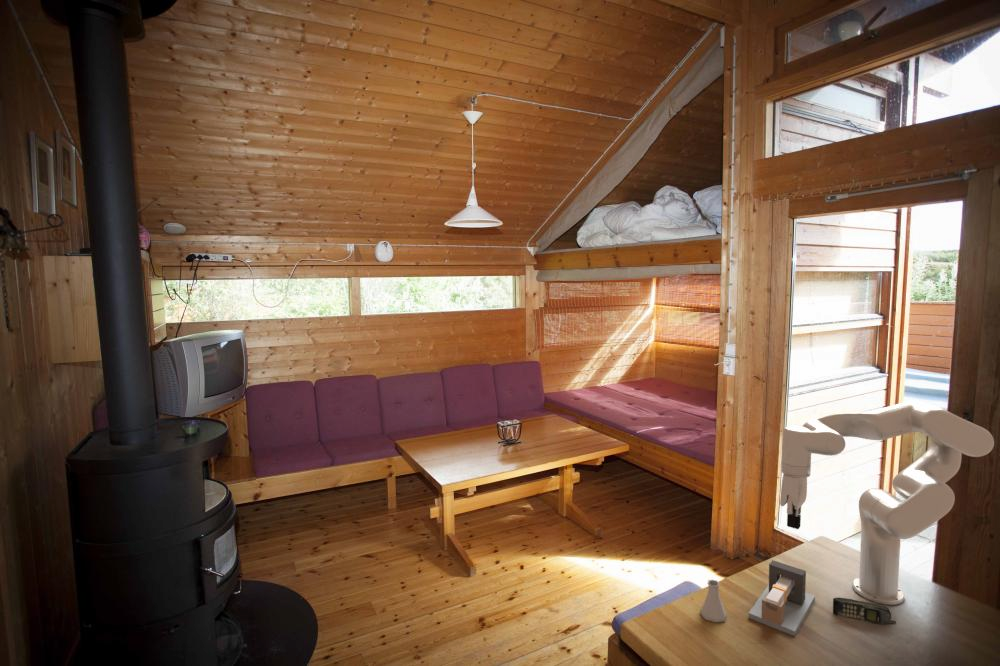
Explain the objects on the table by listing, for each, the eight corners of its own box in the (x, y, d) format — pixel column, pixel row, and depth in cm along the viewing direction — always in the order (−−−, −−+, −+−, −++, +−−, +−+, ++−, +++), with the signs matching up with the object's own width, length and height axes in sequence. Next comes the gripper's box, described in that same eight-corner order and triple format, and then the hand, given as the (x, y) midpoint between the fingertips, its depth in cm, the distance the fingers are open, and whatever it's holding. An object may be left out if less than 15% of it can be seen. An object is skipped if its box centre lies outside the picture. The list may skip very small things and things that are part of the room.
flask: (729, 624, 150) (729, 591, 149) (702, 622, 152) (702, 589, 150) (724, 608, 157) (724, 576, 156) (698, 606, 159) (698, 574, 157)
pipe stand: (771, 585, 167) (771, 560, 166) (814, 600, 158) (815, 574, 157) (748, 617, 152) (748, 590, 151) (794, 636, 144) (795, 608, 143)
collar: (771, 587, 162) (772, 560, 161) (805, 599, 156) (805, 570, 155) (768, 592, 160) (769, 564, 159) (802, 604, 154) (802, 575, 153)
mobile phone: (833, 600, 151) (898, 611, 145) (832, 594, 154) (895, 604, 147) (833, 617, 152) (898, 628, 145) (831, 610, 154) (895, 621, 148)
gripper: (789, 458, 166) (787, 514, 168) (774, 472, 155) (772, 532, 158) (816, 463, 161) (814, 521, 163) (802, 479, 150) (800, 540, 153)
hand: (793, 526), depth 160 cm, fingers closed
